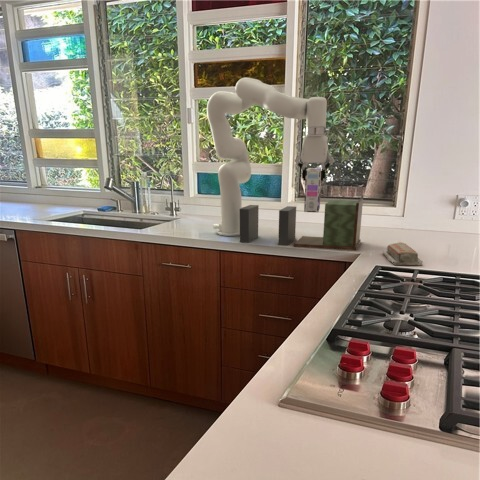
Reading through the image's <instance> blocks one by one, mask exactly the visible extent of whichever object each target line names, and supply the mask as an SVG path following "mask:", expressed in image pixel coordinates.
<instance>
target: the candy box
mask: <svg viewBox="0 0 480 480" xmlns="http://www.w3.org/2000/svg"><path fill="white" fill-rule="evenodd" d="M321 171H322V167H307V168H306V178H305V181H304V203H303V206H304V207H303V209H304V210H303V211H304V213H319V211H320V208H321V190H322V181H321Z"/></svg>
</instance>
